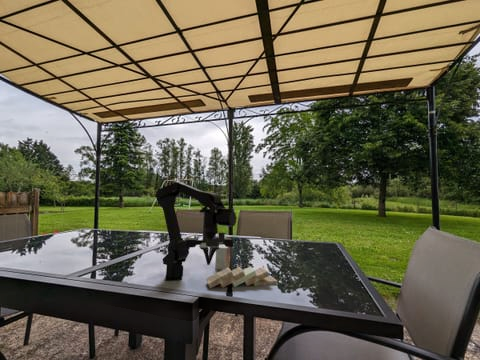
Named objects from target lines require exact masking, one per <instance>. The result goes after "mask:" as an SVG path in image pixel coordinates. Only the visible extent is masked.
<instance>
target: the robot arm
mask: <svg viewBox="0 0 480 360" xmlns="http://www.w3.org/2000/svg"><path fill="white" fill-rule="evenodd" d="M181 194H183V195H186V196H188V197H190V198H193V199H194V200H196V201H198V203H199V204H200V205H202V206H203V207H202V208H200V210H199V213H202V214H203V223H202V225H203V226H202V239H197V238H196V237H186V238H185V239H184V238H183V237H182V235H181V230H180V226H179V221H178V217H177V213H176V209H175V204H176V201H177V197H179V196H180V195H181ZM155 199H156V201H157V204H158V205H159V206H160V207H161V209H162V211H163V215H164V220H165V224H166V229H167V233H168V234H167V235H168V239H169V241H168V246H167V253H166V255H165V256H164V257H163V258H162V264H163V265H166V270H165V271H166V272H165V277H164V278H165V281H179V280H182V277H184V265H183V263H185V262H186V260H187V258H188V256H189V255H190V248H191V249H193V248H195V247H196V246H199V249H200V250H202V252H203V253H204V254H203V255H204V257H205V261H206V265H207V266H210V265H211V263H212V260H213V257H214V255H215V254H216V250H217V249H219V246H220V245H225V246H226V247H230V248H234V247H235V241H234V240H233V238H231V237H225V234H226V233H224V232H218V231H219V228H218V226H221V227H234V226H235V225H236V223H237V215H236V212H235V208H226V207H225V205H224V203H223V201H222V198H221V195H220V194H218V193H214V192H208V191H203V190H201V189H199V188H195V187H193V186H191V185H188V184H186V183H184V182H182V181H174V182H173V183H171V184H168V185H164V186H162V187H161V188H160V187H159V188H158V189H157V191H156V192H155Z"/></svg>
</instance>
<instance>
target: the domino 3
mask: <svg viewBox="0 0 480 360" xmlns="http://www.w3.org/2000/svg"><path fill="white" fill-rule="evenodd" d="M242 270H243V271H244V273H245V276H243V277H242V278H240V279H238V280H236V281H234V282H232V283H231V285H232V286H233V287H234V288H236V287H237V286H239V285H241V284H243V283H244V282H245V281H247V280H249V279H251V278H252V277H254V276H256V272H255V270H256V269H253V268H252V266H248V267H247V268H245V269H242Z"/></svg>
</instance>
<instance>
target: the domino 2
mask: <svg viewBox="0 0 480 360" xmlns="http://www.w3.org/2000/svg"><path fill="white" fill-rule="evenodd" d="M243 270H244V269H243V268H241V267H240V266H238V267H236V268H234V269H233V270H231V271H232V273H233V275H234V276H233V277H231V278H229V279H227V280H225V281H223V282H222V283H220V284H219V285H220V287H221V288H222V289H223V288H225V287H227V286H229V285H230V284H231V285H232V282H234V281H236V280H238V279H240V278H242V277H243V276H245V273H244V271H243Z"/></svg>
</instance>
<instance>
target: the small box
mask: <svg viewBox="0 0 480 360" xmlns="http://www.w3.org/2000/svg"><path fill="white" fill-rule="evenodd" d="M230 264H231V247H226V246H225V245H219V249H217V250H216V251H215V263H214V269H215V270H219V271H222V270H224V269H226V268H227V267H229V268H230Z"/></svg>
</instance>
